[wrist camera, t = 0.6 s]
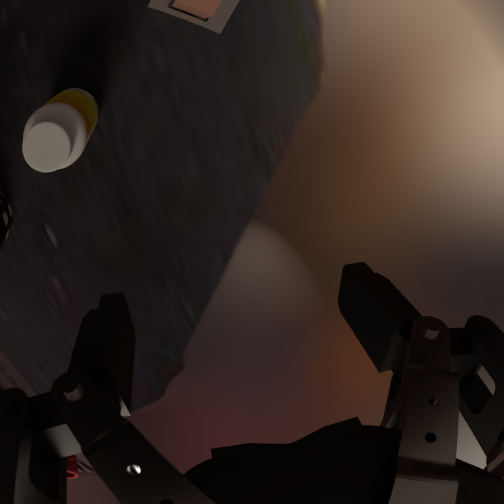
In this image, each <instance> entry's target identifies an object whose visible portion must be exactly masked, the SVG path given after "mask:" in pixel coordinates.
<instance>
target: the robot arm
mask: <svg viewBox="0 0 504 504" xmlns="http://www.w3.org/2000/svg"><path fill="white" fill-rule="evenodd" d="M338 304H339V309H340V312H341V314H342V316H343V317H344V319H345V320H346V322H347V323H348V324H349V326H350V328H351V329H352V331H353V332H354V334H355V335H356V337H357V339H358V340H359V342H360V343H361V345H362V346H363V348H364V349H365V351H366V352H367V354H368V356H369V357H370V359H371V360H372V362H373V363H374V365H375V367H376V368H377V370H378V371H379V373H381V372H384V371H387V370H390V369H391V370H392V372H393V375H392V378H391V382H390V387H389V392H388V397H387V402H386V406H385V410H384V415H383V419H382V421H381V424H380V426H373V425H364V426H363V425H362V424H361V422H360V421H359V419H358V417H355V418H351V419H348V420H345V421H341V422H338V423H335V424H331V425H327V426H324V427H322V428H321V429H319V430H317V431H315V432H313V433H311V434H309V435H307V436H305V437H303V438H301V439H300V440H297V441H295V442H293V443H289V444H261V443H247V444H240V445H234V446H227V447H220V448H212V449H211V453H212V458H211V459H209V460H206V461H204V462H202V463H200V464H198V465H196V466H195V467H193V468H191V469H190V470H188V471H187V472H186V473H185V474H184V475H182V474H181V473H180V472H179V471H178V470H177V469H176V468H175V467H173V466H172V464H170V463H169V462H168V461H167V460H166V459H165V458H164V457H163V456H162V455H161V454H160V453H159V452H158V451H157V450H156V449H155V448H154V447H153V446H152V445H151V444H150V442H148V440H147V439H146V438H145V437H144V436H143V435H142V434H141V433H140V432H139V431H138V430H137V429H136V427H134V425H133V424H132V423H131V422H130V421H129V420H128V419H124V418H123V417H122V416H131V401H132V384H133V369H134V357H135V346H136V335H135V328H134V324H133V321H132V318H131V315H130V311H129V308H128V304H127V301H126V297H125V295H124V293H123V292H117V293H108V294H102V296H101V300H100V303H99V307H98V309H91V310H90V311H89V312H88V313H87V314H86V316H85V317H84V318H83V319H82V322H81V326H80V329H79V331H80V332H78V336H77V341H76V343H75V346H74V350H73V353H72V357H71V361H70V365H69V368H68V372H67V373H64V374H62V375H61V376H60V377H58V378H57V379H56V380H55V382H54V383H53V385H52V387H51V391H49V392H47V393H43V394H40V395H36V396H33V397H29V398H28V396H27V395H26V394H25V392H24V391H23V390H21V389H19V388H9V389H6V390H4V391H2V392H1V393H0V504H67V502H66V501H67V499H66V497H67V496H66V495H67V493H66V492H67V458H68V456H70V455H74V454H77V453H81V452H83V454H84V456H85V457H86V459H87V460H88V461H89V463H90V464H91V466H92V467H93V468H94V470H95V471H96V472H97V474H98V475H99V476H100V478H101V479H102V480H103V482H104V483H105V484H106V486H107V487H108V488H109V489H110V491H111V492H112V493H113V494H114V496H115V497H116V498H117V499H118V500H119V502H120V503H121V504H504V333H503V332H502V331H501V330H500V329H499V328H498V327H497V325H495V323H494V322H493V321H491V320H490V319H488V318H486V317H484V316H480V315H474V316H471V317H469V318H468V320H467V322H466V325H465V327H464V328H448V327H447V325H446V324H445V323H444V322H443V321H441V320H439V319H438V318H435V317H432V316H422V315H421V314H420V313H419V312H418V311H417V310H416V309H415V308H414V306H413V305H412V304H411V303H410V302H409V301H408V300H407V299H406V298H405V297H404V296H403V295H402V294H401V292H400V291H399V290H398V289H396V287H395V286H394V285H393V284H392V283H391V282H390V280H388V279H387V278H385V277H384V276H382V275H380V274H379V273H374V272H373V271H372V270H371V268H370V267H369V266H368V265H367V264H366V263H365V262H359V263H353V264H347V265H344V267H343V270H342V276H341V284H340V290H339V297H338ZM481 366H483V367H484V368H485V369H486V371H487V372H488V373H489V375H490V376H491V377H492V379H493V380H494V382H495V392H494V394H493V395H492V393H491V392H490V391H489V389H488V388H487V386H486V385H485V384H484V382H483V381H482V379H481V378H480V377H479V375H478V374H477V373H478V371H479V370H480V368H481ZM459 411H460V413H461V414H462V416H463V417H464V419H465V421H466V422H467V424H468V426H469V427H470V429H471V431H472V432H473V434H474V436H475V437H476V439H477V441H478V443H479V444H480V446H481V448H482V450H483V451H484V453H485V455H486V456H487V458H486V464H487V466H486V467H485V468H484V469H481V468H479V467H476V466H474V465H471V464H469V463H466V462H464V461H462V460H459V459H457V458H456V450H457V437H458V419H459Z"/></svg>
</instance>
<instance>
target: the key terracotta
mask: <svg viewBox="0 0 504 504" xmlns="http://www.w3.org/2000/svg"><path fill="white" fill-rule="evenodd" d="M221 1H222V0H175V1H174V2H173V4H172V7H175V8H178V9H181V10H183V11H186V12H189V13H191V14H194V15H196V16H199V17H201V18H204V19H205V18H208V17H211V16H213V15H214V13H215V11H216V10H217V8H218V6H219V5H220V3H221Z"/></svg>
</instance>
